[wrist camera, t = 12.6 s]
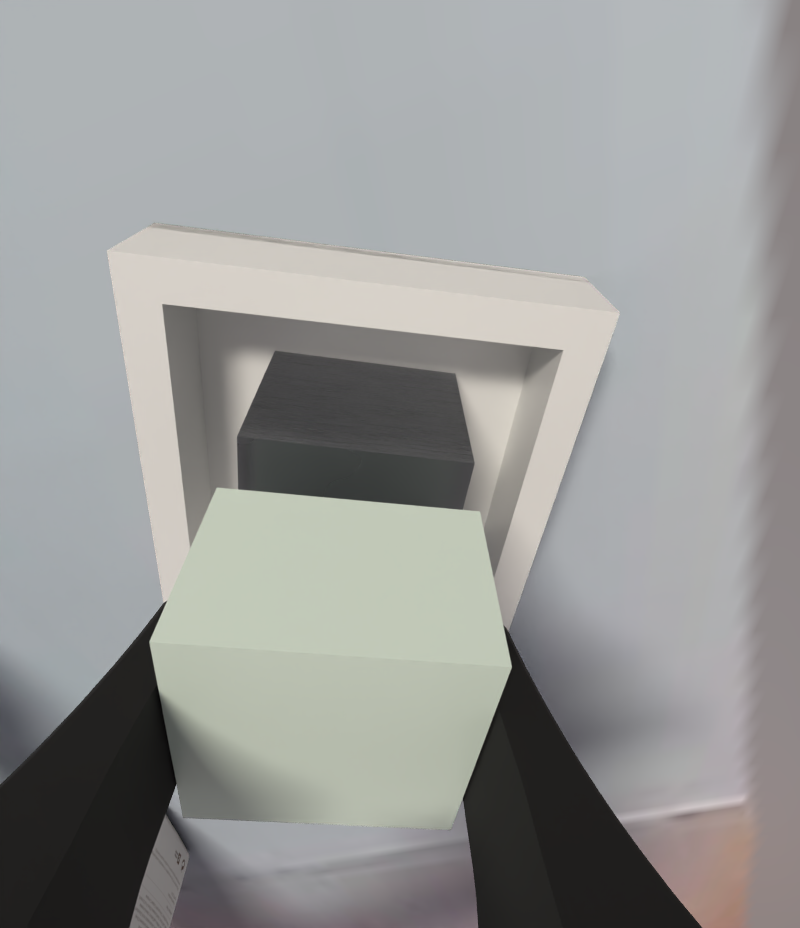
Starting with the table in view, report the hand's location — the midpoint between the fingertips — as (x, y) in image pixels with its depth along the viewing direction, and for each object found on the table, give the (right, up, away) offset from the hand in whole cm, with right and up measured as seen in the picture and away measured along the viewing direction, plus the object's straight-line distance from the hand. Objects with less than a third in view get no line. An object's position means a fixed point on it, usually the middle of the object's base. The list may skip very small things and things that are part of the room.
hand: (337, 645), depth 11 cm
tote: (0, +4, +7) cm, 8 cm away
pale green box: (0, +1, +1) cm, 1 cm away
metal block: (0, +4, +6) cm, 7 cm away
